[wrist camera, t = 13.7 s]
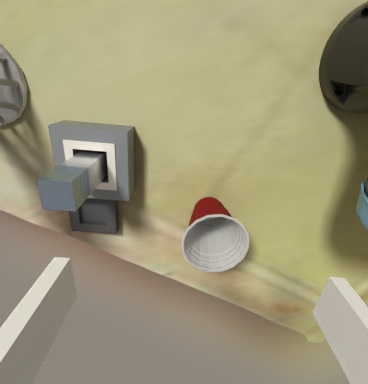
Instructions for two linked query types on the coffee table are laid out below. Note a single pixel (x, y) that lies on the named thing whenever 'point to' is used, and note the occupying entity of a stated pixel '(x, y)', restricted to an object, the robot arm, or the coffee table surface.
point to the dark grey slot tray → (96, 216)
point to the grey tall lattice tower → (11, 89)
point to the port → (99, 141)
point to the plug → (72, 180)
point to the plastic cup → (214, 238)
